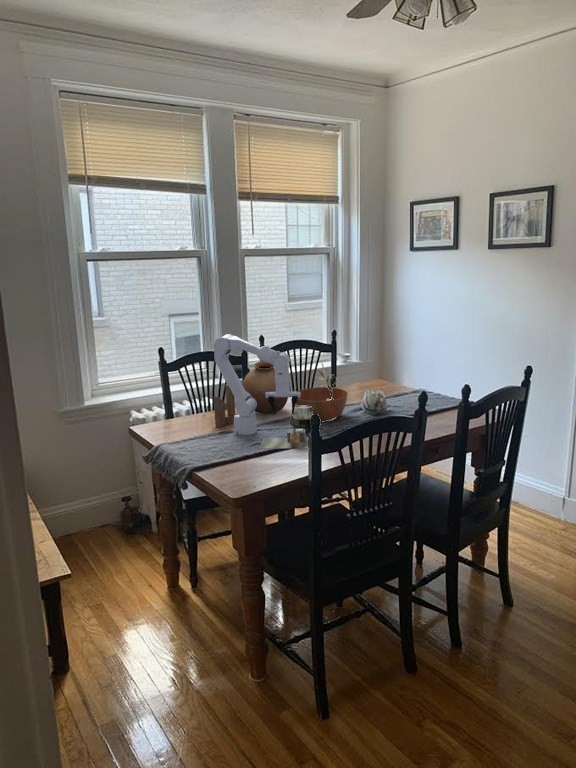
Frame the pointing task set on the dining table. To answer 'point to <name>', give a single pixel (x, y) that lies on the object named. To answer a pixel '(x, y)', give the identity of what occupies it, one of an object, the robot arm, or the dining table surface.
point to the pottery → (263, 387)
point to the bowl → (324, 401)
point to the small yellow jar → (294, 439)
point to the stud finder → (300, 431)
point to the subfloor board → (281, 443)
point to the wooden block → (221, 407)
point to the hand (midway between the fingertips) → (283, 413)
